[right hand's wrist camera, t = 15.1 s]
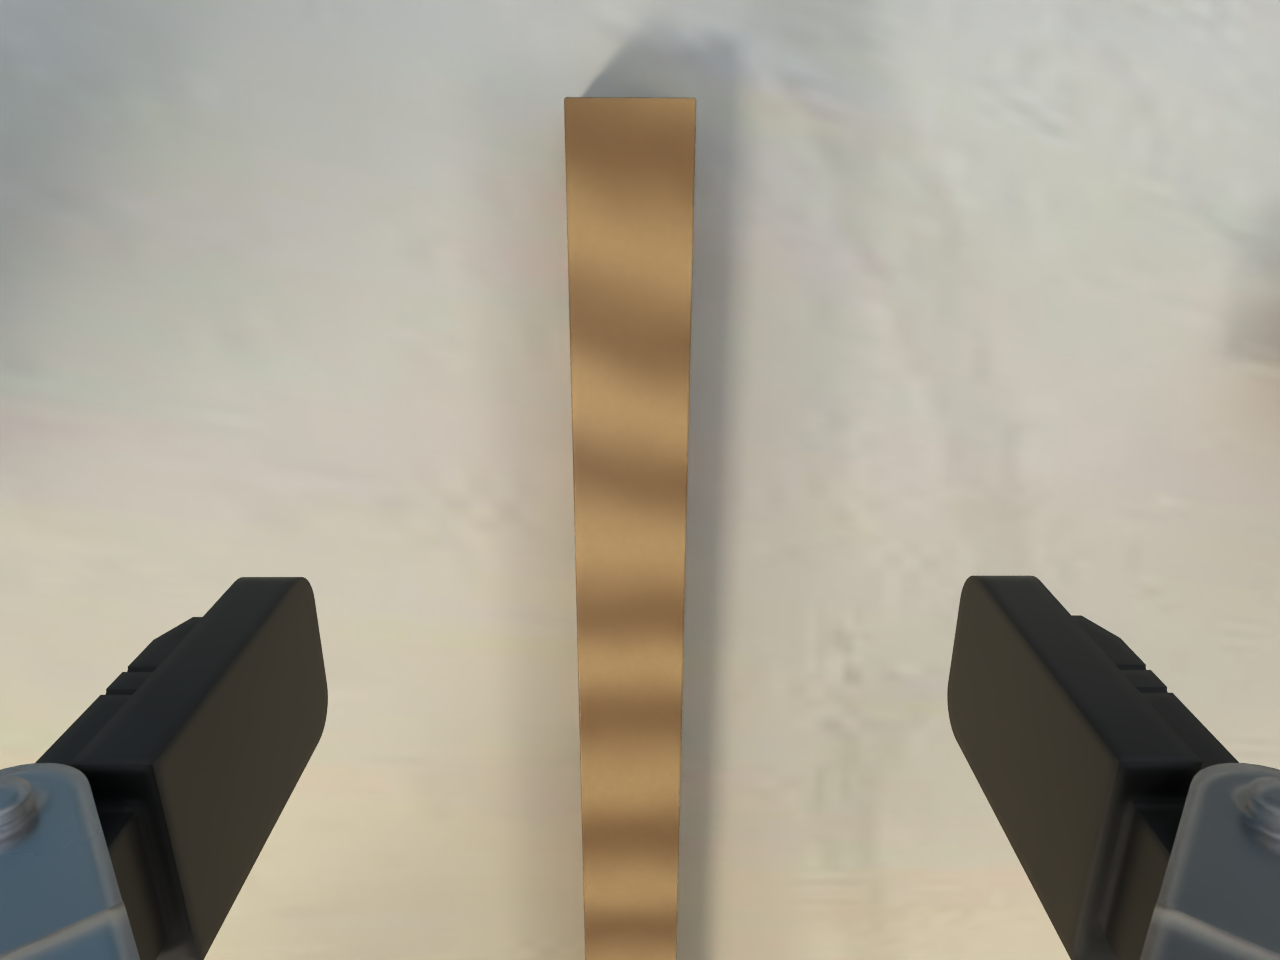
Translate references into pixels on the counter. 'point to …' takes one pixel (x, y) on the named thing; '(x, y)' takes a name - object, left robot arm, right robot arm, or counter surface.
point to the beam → (630, 501)
